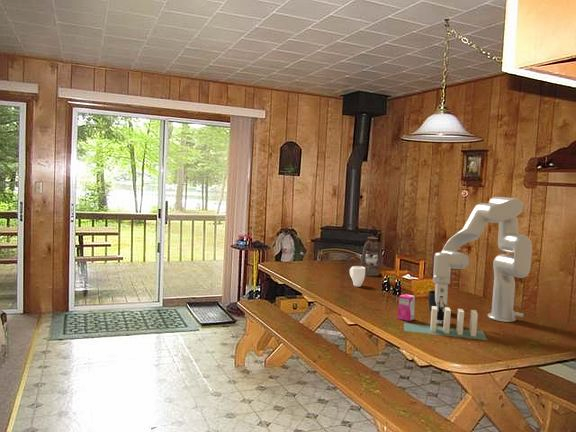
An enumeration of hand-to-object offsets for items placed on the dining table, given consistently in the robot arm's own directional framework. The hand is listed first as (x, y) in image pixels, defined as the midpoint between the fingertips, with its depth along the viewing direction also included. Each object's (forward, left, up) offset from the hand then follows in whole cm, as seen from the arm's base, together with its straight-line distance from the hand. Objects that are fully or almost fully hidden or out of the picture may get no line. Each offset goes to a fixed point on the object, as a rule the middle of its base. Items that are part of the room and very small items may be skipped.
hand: (439, 317), depth 227 cm
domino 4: (-8, +12, -2) cm, 15 cm away
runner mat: (-1, +12, -3) cm, 13 cm away
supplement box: (+15, -1, -3) cm, 15 cm away
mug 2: (+44, -66, -3) cm, 79 cm away
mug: (-1, -21, -3) cm, 21 cm away
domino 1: (+3, +12, -2) cm, 13 cm away
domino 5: (-13, +12, -2) cm, 18 cm away
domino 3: (-2, +12, -2) cm, 13 cm away
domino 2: (0, 0, -2) cm, 2 cm away
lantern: (+37, -104, -3) cm, 110 cm away
